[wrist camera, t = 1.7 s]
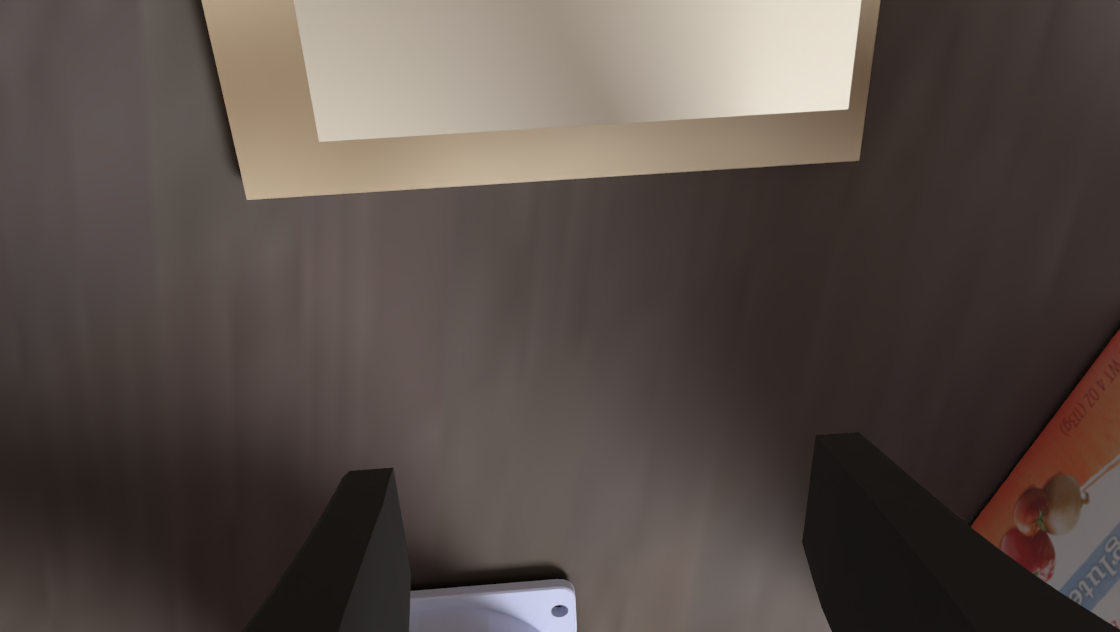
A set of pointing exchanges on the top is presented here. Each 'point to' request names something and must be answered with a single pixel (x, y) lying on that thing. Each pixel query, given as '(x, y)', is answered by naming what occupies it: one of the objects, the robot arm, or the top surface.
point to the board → (485, 157)
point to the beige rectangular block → (568, 62)
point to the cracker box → (1069, 496)
